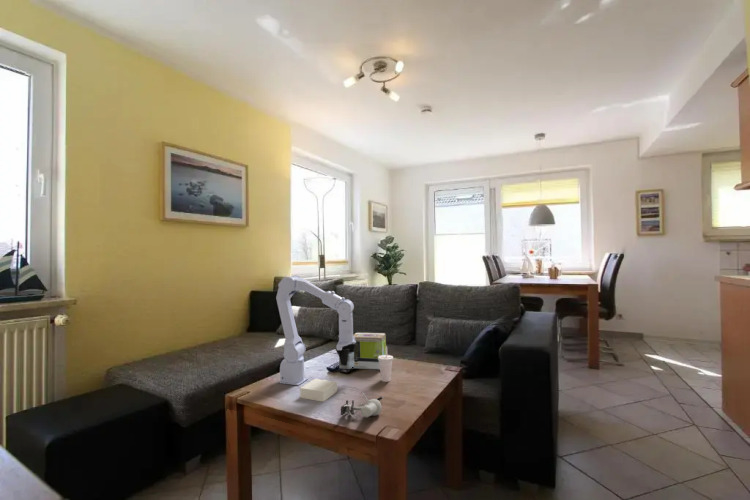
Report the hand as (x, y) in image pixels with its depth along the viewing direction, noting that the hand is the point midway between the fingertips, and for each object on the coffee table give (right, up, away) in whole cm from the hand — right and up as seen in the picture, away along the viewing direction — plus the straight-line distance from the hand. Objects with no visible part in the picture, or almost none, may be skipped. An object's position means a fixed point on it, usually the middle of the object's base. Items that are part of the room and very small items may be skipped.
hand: (346, 363), depth 143 cm
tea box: (+9, -9, +22) cm, 25 cm away
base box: (-10, -9, -10) cm, 17 cm away
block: (0, -2, 0) cm, 2 cm away
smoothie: (+16, -8, +3) cm, 18 cm away
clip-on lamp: (+8, -9, -26) cm, 28 cm away
